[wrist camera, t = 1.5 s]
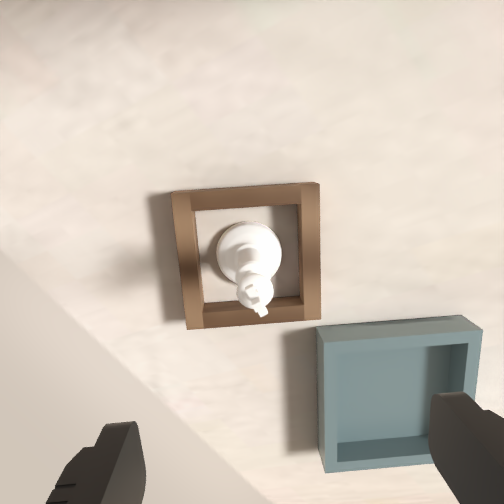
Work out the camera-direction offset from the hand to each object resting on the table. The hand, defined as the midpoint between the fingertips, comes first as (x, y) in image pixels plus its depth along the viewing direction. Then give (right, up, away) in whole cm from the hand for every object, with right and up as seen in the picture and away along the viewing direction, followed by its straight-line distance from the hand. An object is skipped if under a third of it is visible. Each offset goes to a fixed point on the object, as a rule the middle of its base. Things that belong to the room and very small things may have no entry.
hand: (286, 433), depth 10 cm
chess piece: (-1, +5, +18) cm, 18 cm away
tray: (+11, -6, +21) cm, 24 cm away
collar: (-1, +5, +17) cm, 18 cm away
